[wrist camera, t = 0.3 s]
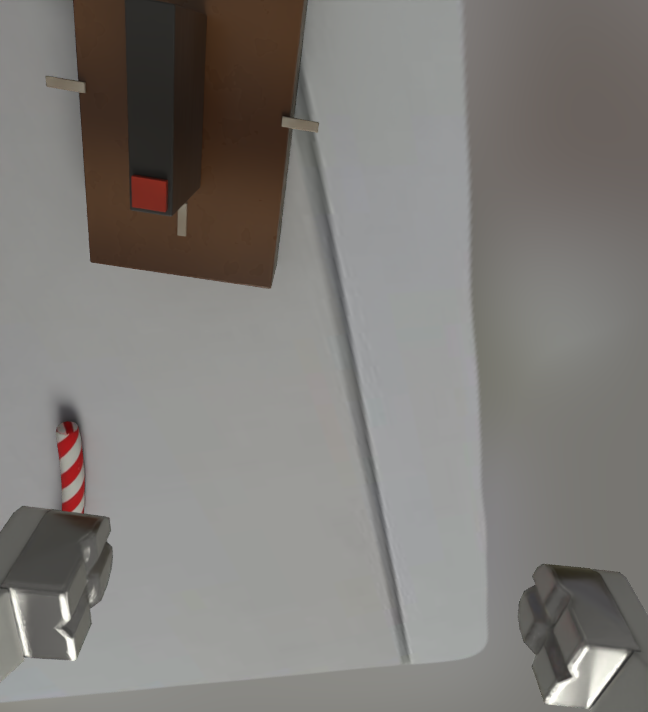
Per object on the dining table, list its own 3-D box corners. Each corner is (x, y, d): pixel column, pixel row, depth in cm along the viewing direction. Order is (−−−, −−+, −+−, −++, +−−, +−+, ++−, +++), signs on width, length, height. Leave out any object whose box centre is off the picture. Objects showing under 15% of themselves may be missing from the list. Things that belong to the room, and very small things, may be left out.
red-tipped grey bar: (167, 7, 18) (121, -7, 14) (207, 15, 18) (172, 3, 14) (165, 182, 21) (127, 212, 17) (200, 187, 21) (170, 219, 17)
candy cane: (120, 454, 31) (49, 596, 37) (128, 440, 32) (57, 580, 38) (-16, 398, 29) (-66, 558, 35) (-3, 385, 30) (-54, 542, 36)
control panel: (66, -141, 19) (21, -175, 16) (347, -85, 19) (350, -108, 17) (91, 238, 26) (62, 260, 23) (298, 269, 26) (294, 294, 24)
